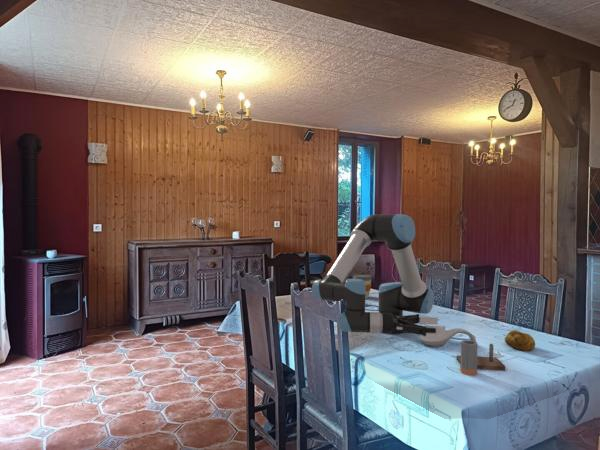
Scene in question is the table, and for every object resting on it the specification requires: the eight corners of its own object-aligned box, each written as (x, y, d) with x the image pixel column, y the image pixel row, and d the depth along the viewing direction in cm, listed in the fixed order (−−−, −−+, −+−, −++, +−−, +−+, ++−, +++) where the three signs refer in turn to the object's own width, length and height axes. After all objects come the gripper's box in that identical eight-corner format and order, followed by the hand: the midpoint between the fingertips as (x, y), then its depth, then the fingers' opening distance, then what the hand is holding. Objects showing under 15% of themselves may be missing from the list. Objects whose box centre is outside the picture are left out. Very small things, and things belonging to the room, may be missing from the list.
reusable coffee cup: (352, 298, 286) (352, 276, 286) (353, 295, 298) (353, 273, 298) (371, 299, 284) (371, 277, 284) (371, 295, 296) (371, 274, 296)
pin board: (462, 368, 158) (463, 346, 158) (456, 359, 168) (456, 338, 168) (505, 370, 156) (505, 348, 156) (496, 361, 166) (496, 340, 166)
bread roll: (499, 343, 189) (499, 325, 188) (518, 342, 191) (518, 324, 191) (519, 353, 176) (520, 333, 176) (540, 351, 178) (540, 332, 178)
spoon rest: (424, 349, 181) (424, 332, 181) (416, 341, 192) (417, 325, 192) (480, 349, 181) (480, 333, 180) (469, 341, 192) (469, 325, 192)
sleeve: (462, 374, 152) (463, 344, 151) (459, 369, 157) (459, 339, 157) (478, 375, 151) (479, 344, 151) (474, 370, 156) (474, 340, 156)
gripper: (379, 324, 169) (434, 327, 167) (383, 342, 145) (448, 346, 142) (379, 305, 169) (434, 307, 167) (384, 320, 145) (449, 323, 142)
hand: (441, 325), depth 154 cm, fingers open, 13 cm apart
